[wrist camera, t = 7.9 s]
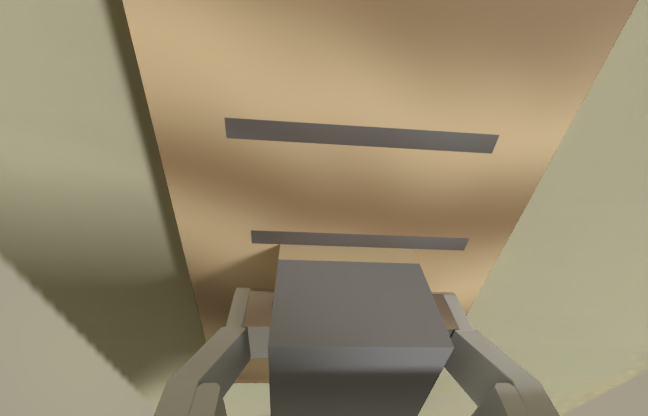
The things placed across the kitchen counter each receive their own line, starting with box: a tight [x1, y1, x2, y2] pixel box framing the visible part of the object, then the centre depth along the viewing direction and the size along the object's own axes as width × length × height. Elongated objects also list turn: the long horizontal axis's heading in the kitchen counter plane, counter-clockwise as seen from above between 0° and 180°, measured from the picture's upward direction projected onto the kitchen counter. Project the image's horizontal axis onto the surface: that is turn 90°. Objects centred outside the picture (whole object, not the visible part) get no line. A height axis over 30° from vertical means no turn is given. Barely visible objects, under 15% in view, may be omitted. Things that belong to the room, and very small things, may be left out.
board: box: [122, 0, 638, 383], centre depth 11 cm, size 25×12×1 cm, turn 176°
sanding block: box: [268, 244, 454, 416], centre depth 12 cm, size 8×5×4 cm, turn 176°
